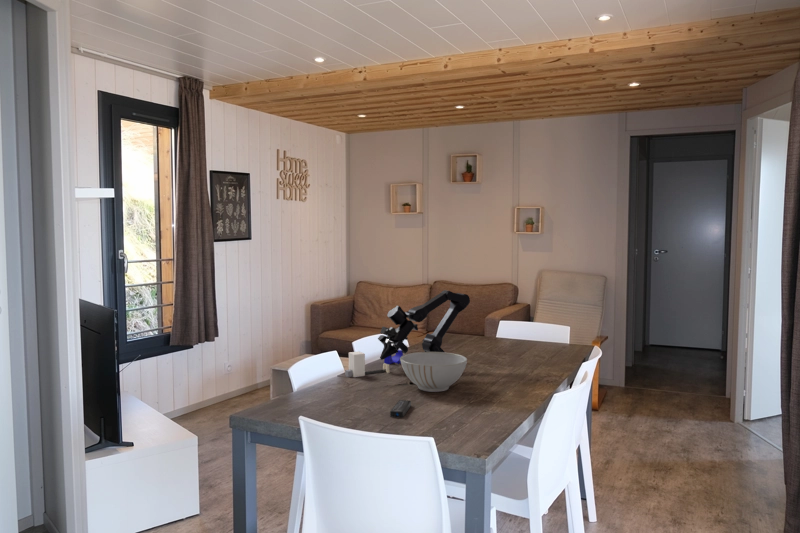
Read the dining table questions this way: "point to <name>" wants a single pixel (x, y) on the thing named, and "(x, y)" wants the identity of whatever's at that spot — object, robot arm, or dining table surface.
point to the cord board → (385, 369)
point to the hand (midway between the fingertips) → (380, 358)
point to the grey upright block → (357, 363)
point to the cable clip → (394, 358)
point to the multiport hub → (400, 408)
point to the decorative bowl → (433, 369)
